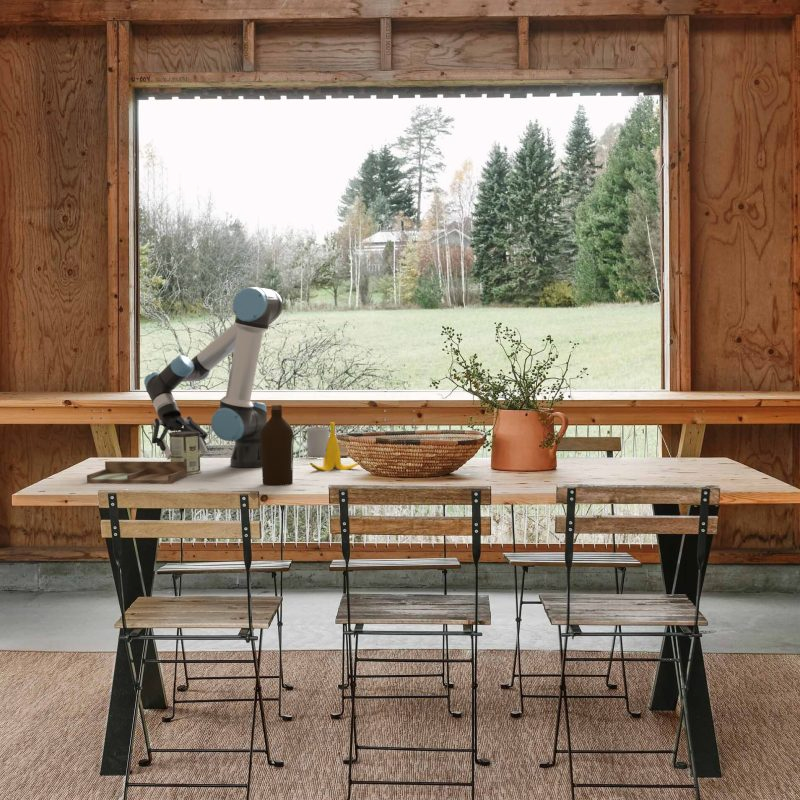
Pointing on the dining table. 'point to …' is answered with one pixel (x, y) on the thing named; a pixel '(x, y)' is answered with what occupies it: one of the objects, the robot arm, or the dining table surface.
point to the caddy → (139, 472)
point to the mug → (317, 441)
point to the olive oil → (277, 450)
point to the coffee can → (186, 449)
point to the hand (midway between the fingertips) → (187, 455)
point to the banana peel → (332, 454)
